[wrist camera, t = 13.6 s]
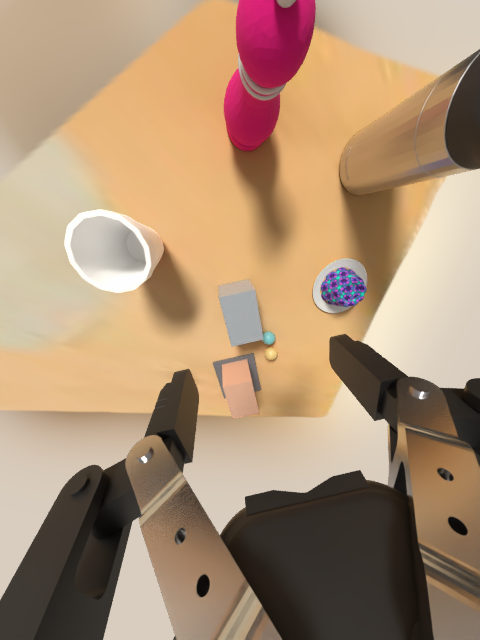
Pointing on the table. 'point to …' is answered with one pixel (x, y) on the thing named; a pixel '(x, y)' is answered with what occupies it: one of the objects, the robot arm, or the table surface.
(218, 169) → the table surface
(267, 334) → the marble
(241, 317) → the plate
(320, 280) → the pudding
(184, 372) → the robot arm
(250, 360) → the mat
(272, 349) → the marble
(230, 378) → the cover terracotta
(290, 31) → the pepper mill
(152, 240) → the foam cup
